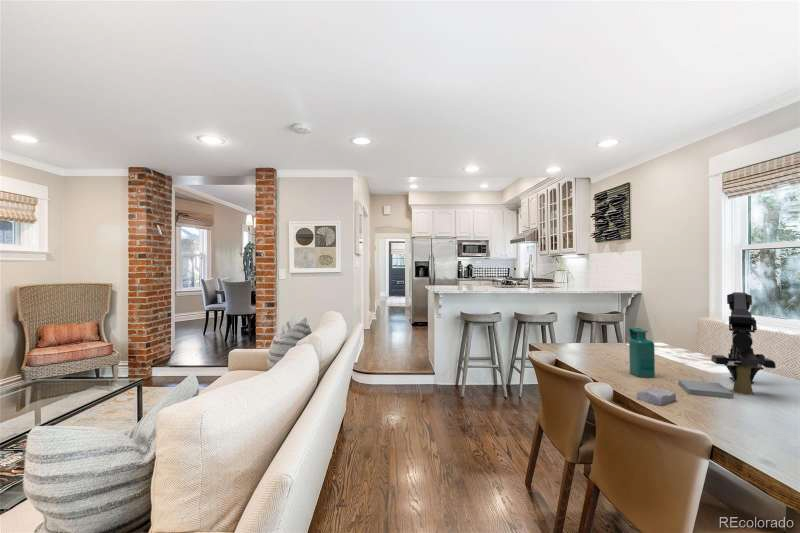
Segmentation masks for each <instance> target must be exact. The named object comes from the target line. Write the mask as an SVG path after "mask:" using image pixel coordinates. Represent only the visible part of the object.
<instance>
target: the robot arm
mask: <svg viewBox="0 0 800 533" xmlns="http://www.w3.org/2000/svg"><path fill="white" fill-rule="evenodd" d="M752 299H753V296H752V295H751V294H748V293H747V292H738V291H737V292H735V291H734V292H732V293H731V294H730V293H729V294H727V295H726V304H727V305H728V308H729V310H730V315H728V329H729V330H728V331H731V334H732V335H731V337H732V344H731V345H730V346H731V348H730V350H729V351H730V352H728V353H727V354H728V357H727V356H725V355H721V354H712V355H711V358H710V359H711V362H713V363H714V364H716V365H723V366H725V367H726V368H727V370H728V371H729V374H730V376H729V377H728V378H729V379H730V380H732V381H735V382H736V379H737V377H736V367H737V366H735V365H743V366H749V367H750V368H751V373H750V374H749V375H750V380H751V384H755V382H754V381H753V380H754V378H755V376H756V375H757V373H758V372H759V371H760V370H764V368H766V369H767V368H768V369H776V367H777V366H776V365H777V364H776V362H775V361H774V360H772V359H770V358H768V357H767V358H766V356H765V355H764V354H762V353H761V354H760V353H756V354H755V353H754V349H753V347H752V346H753V344H754V343H753V342H754V341H753V339H752V334H751V333H755V332H756V331H757V328H758V327H757V320H756V318H755V317H752V312H750V311H749V310H750V307H751V306H752V305H753V300H752Z"/></svg>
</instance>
